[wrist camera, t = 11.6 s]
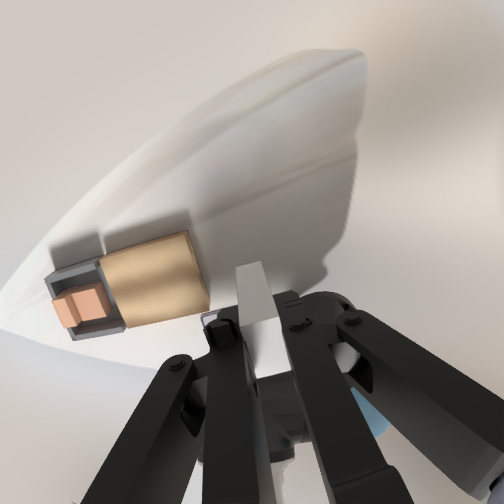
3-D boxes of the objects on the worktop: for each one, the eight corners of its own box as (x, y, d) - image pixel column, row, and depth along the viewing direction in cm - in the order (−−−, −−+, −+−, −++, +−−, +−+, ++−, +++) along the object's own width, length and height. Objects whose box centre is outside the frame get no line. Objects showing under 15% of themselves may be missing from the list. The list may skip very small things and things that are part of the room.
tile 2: (112, 308, 44) (106, 316, 41) (89, 312, 44) (82, 321, 41) (101, 281, 43) (94, 288, 40) (78, 286, 43) (70, 294, 40)
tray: (130, 319, 46) (123, 332, 42) (81, 329, 46) (73, 341, 42) (103, 254, 42) (93, 262, 39) (55, 270, 42) (43, 278, 39)
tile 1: (76, 326, 39) (63, 328, 39) (88, 311, 44) (75, 314, 44) (64, 298, 38) (51, 301, 38) (77, 285, 43) (65, 289, 43)
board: (210, 301, 46) (209, 310, 43) (132, 319, 46) (127, 328, 43) (187, 230, 42) (184, 234, 40) (106, 254, 42) (98, 259, 40)
